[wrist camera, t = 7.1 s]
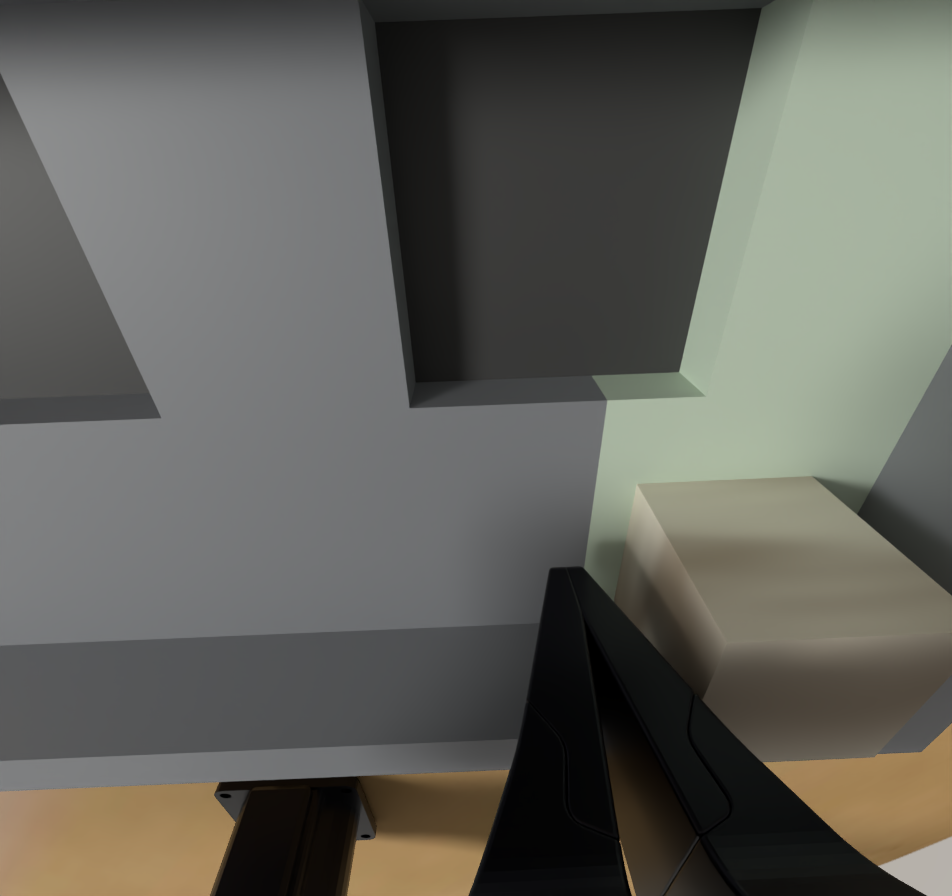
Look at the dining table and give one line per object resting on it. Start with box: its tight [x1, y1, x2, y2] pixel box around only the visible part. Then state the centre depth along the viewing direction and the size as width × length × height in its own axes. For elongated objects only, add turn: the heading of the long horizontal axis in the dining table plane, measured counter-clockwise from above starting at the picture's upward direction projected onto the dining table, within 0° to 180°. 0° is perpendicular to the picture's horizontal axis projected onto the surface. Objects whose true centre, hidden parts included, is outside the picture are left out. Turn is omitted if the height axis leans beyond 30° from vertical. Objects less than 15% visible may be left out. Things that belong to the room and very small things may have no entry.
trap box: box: [0, 0, 952, 791], centre depth 8 cm, size 16×26×4 cm, turn 92°
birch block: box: [614, 476, 952, 762], centre depth 9 cm, size 4×4×4 cm
